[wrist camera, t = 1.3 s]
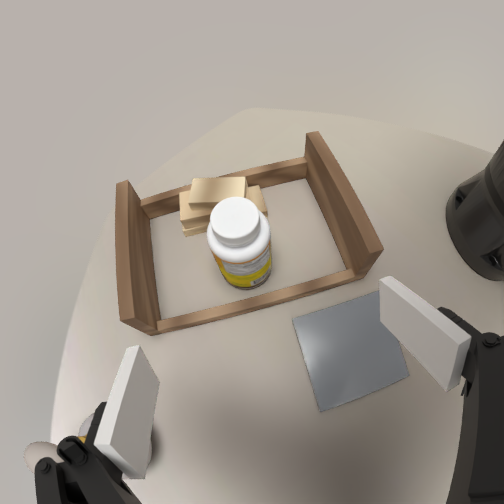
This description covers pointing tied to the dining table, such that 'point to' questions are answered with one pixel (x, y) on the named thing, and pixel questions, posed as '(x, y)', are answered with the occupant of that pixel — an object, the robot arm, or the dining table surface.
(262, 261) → the supplement bottle
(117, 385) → the robot arm
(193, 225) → the offcut mid
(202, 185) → the offcut top
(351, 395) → the coaster
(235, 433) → the dining table surface
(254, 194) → the offcut low
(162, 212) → the tray
